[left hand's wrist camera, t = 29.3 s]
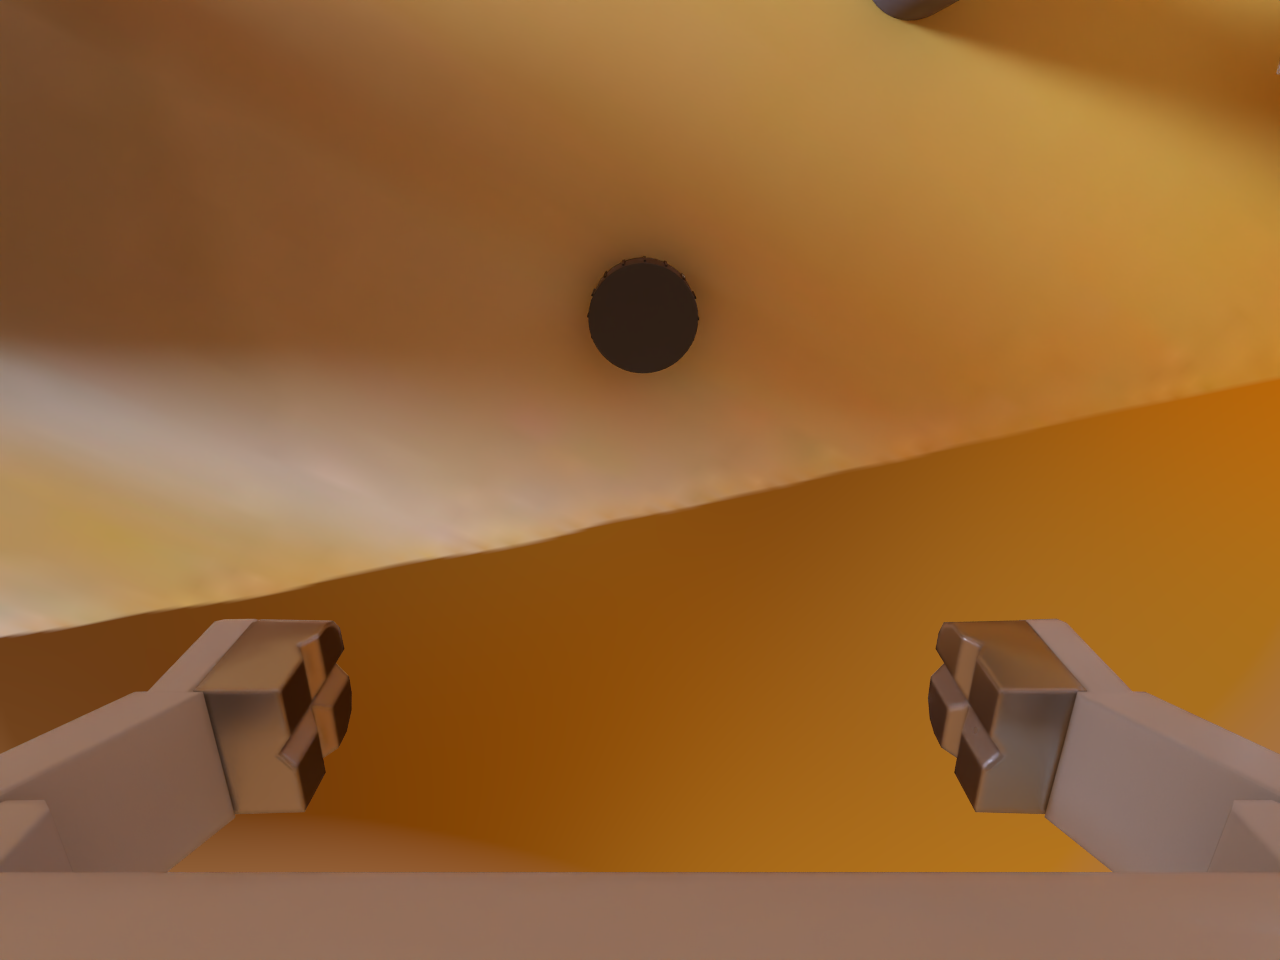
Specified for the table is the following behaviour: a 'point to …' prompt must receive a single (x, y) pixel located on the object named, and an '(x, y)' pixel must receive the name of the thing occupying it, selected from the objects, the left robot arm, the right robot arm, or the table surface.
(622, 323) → the lid
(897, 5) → the dark grey cylinder
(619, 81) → the table surface
